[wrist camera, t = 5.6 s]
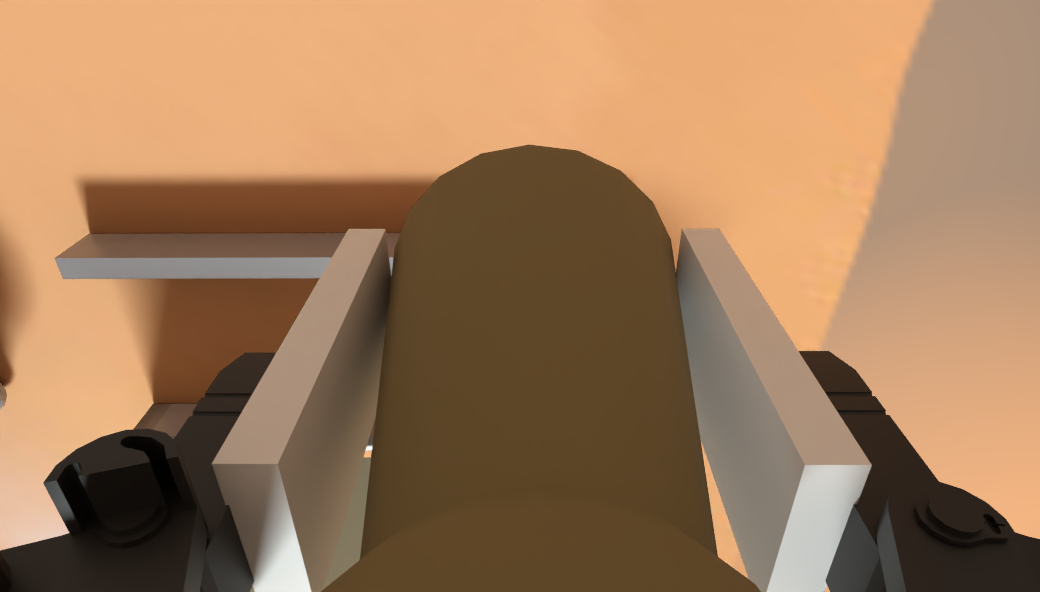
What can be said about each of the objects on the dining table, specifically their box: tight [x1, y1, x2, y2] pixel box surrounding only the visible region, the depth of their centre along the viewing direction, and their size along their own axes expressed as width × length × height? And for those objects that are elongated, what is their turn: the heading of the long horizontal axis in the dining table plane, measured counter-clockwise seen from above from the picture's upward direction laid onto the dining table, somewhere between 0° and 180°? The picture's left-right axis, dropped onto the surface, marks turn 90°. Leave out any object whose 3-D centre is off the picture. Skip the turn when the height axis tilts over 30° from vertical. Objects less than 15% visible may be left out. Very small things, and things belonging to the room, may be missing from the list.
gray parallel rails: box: [55, 233, 400, 450], centre depth 31 cm, size 24×11×2 cm, turn 90°
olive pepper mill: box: [321, 145, 761, 592], centre depth 9 cm, size 6×6×11 cm
